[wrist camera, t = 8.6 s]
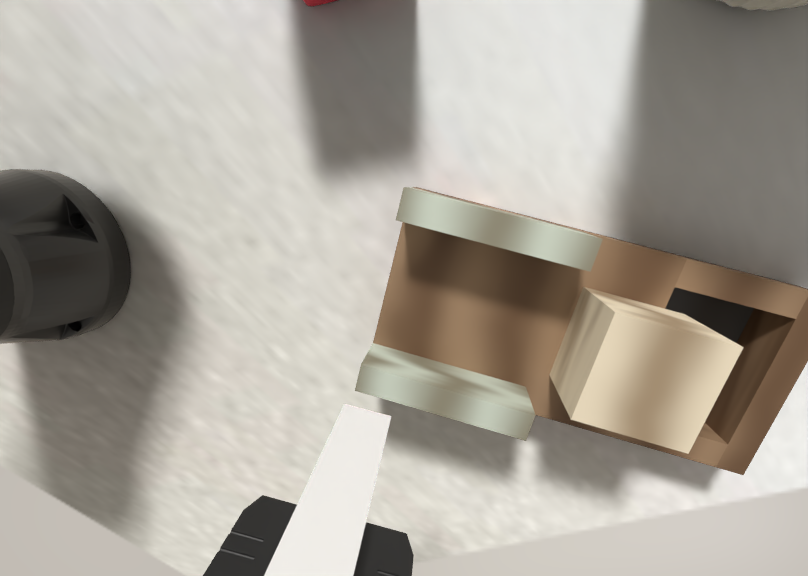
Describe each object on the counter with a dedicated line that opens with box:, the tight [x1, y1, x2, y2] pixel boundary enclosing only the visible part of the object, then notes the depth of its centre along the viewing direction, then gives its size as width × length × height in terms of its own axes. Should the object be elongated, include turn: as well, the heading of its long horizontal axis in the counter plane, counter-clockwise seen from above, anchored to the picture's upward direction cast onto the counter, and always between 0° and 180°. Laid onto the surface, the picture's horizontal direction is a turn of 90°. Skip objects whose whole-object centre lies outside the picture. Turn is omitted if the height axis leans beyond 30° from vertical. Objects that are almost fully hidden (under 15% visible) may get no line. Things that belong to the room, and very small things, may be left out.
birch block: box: [550, 287, 744, 454], centre depth 26 cm, size 7×7×6 cm
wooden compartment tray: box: [355, 187, 808, 475], centre depth 29 cm, size 29×14×8 cm, turn 76°
